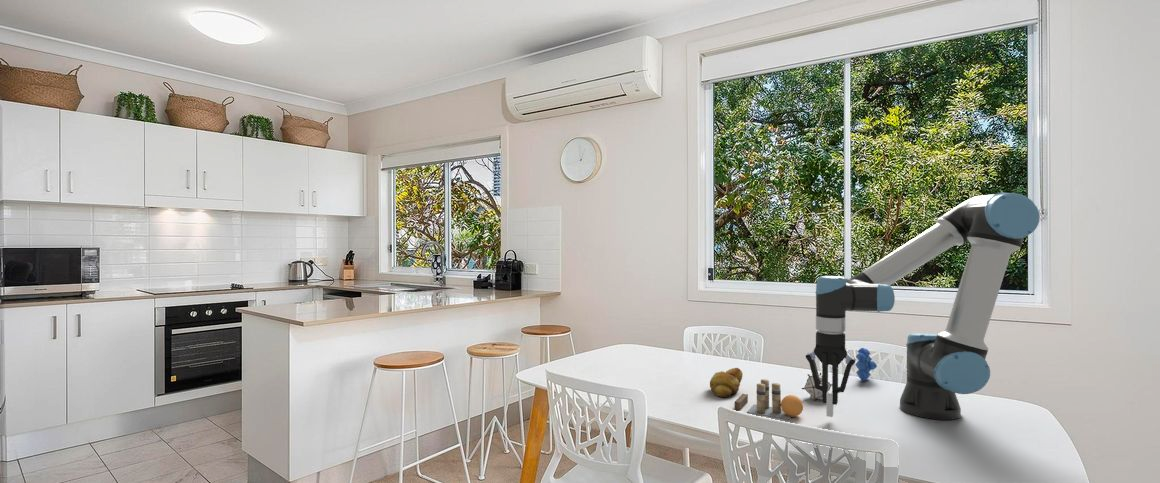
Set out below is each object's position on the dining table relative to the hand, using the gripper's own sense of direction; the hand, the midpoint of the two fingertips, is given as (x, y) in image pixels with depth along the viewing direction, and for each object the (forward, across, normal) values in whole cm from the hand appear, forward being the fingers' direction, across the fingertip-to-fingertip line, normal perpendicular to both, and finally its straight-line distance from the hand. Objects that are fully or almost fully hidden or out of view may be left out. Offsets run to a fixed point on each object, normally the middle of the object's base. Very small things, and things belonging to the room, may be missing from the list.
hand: (829, 415), depth 152 cm
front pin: (+2, +14, 0) cm, 14 cm away
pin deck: (+2, +16, 0) cm, 16 cm away
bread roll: (+2, +34, -11) cm, 35 cm away
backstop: (+2, +25, -1) cm, 25 cm away
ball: (-1, +10, 0) cm, 10 cm away
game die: (+2, +6, -20) cm, 21 cm away
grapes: (+2, -6, -50) cm, 50 cm away
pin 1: (+2, +18, +2) cm, 19 cm away
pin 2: (+2, +18, -2) cm, 19 cm away
